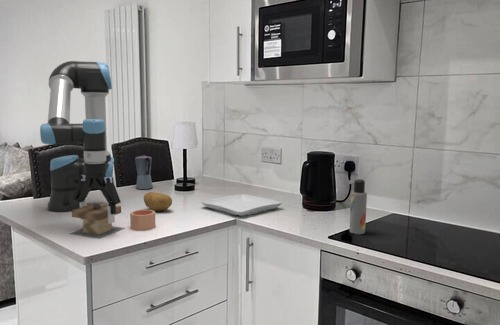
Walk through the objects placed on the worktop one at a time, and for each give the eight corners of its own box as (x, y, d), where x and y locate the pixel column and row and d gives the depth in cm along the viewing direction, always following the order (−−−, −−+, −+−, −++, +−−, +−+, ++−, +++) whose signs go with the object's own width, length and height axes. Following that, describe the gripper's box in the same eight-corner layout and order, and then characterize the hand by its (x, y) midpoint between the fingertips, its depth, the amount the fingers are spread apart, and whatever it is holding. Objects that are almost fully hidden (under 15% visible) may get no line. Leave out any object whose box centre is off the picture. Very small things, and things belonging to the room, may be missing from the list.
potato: (163, 215, 180) (163, 196, 179) (138, 210, 187) (138, 193, 186) (177, 210, 189) (177, 192, 188) (153, 206, 196) (153, 189, 195)
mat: (68, 234, 152) (68, 233, 152) (96, 224, 165) (96, 223, 165) (99, 239, 147) (99, 238, 147) (125, 229, 159) (125, 228, 159)
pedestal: (83, 232, 154) (82, 216, 153) (96, 227, 160) (96, 211, 159) (98, 234, 151) (98, 218, 150) (111, 229, 157) (111, 213, 157)
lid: (72, 217, 151) (71, 206, 151) (95, 209, 162) (95, 199, 162) (98, 220, 147) (98, 209, 146) (121, 212, 158) (120, 202, 158)
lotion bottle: (367, 232, 159) (370, 179, 157) (360, 235, 155) (363, 181, 153) (353, 229, 163) (356, 178, 161) (346, 232, 159) (348, 179, 156)
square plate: (283, 209, 194) (283, 201, 193) (239, 220, 175) (239, 211, 174) (242, 200, 213) (242, 192, 212) (199, 208, 194) (199, 200, 193)
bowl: (125, 229, 159) (125, 214, 158) (140, 223, 167) (140, 208, 166) (146, 232, 156) (145, 216, 155) (159, 226, 164) (159, 211, 163)
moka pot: (146, 185, 246) (146, 151, 243) (159, 189, 234) (158, 153, 231) (131, 187, 240) (130, 152, 237) (143, 191, 228) (142, 154, 225)
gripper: (61, 161, 153) (63, 219, 156) (115, 165, 144) (117, 227, 147) (76, 159, 160) (79, 214, 163) (129, 163, 151) (131, 222, 154)
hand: (97, 220), depth 155 cm, fingers closed on lid, 12 cm apart
